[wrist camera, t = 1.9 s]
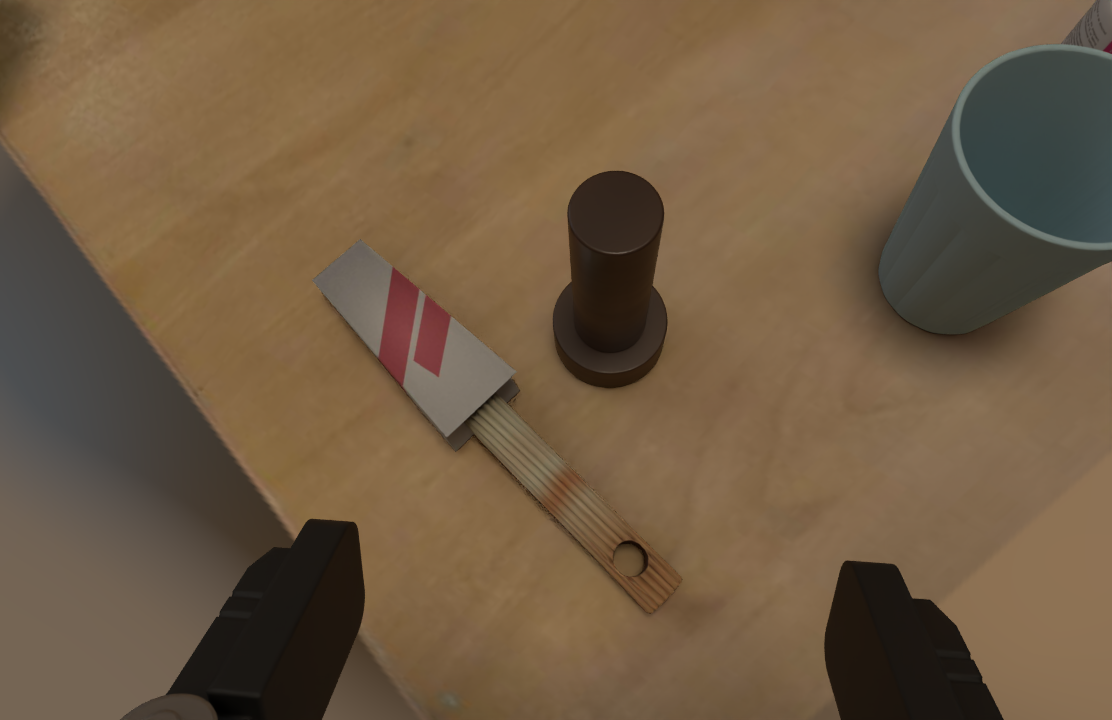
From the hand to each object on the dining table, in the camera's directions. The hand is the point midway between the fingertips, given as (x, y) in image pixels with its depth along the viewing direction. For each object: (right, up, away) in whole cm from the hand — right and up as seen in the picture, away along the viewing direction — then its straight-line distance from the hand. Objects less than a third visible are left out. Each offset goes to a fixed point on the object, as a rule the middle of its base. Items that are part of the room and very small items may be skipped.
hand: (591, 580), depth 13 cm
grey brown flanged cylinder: (+2, +5, +22) cm, 22 cm away
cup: (+17, +7, +22) cm, 28 cm away
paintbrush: (-3, +1, +21) cm, 21 cm away
